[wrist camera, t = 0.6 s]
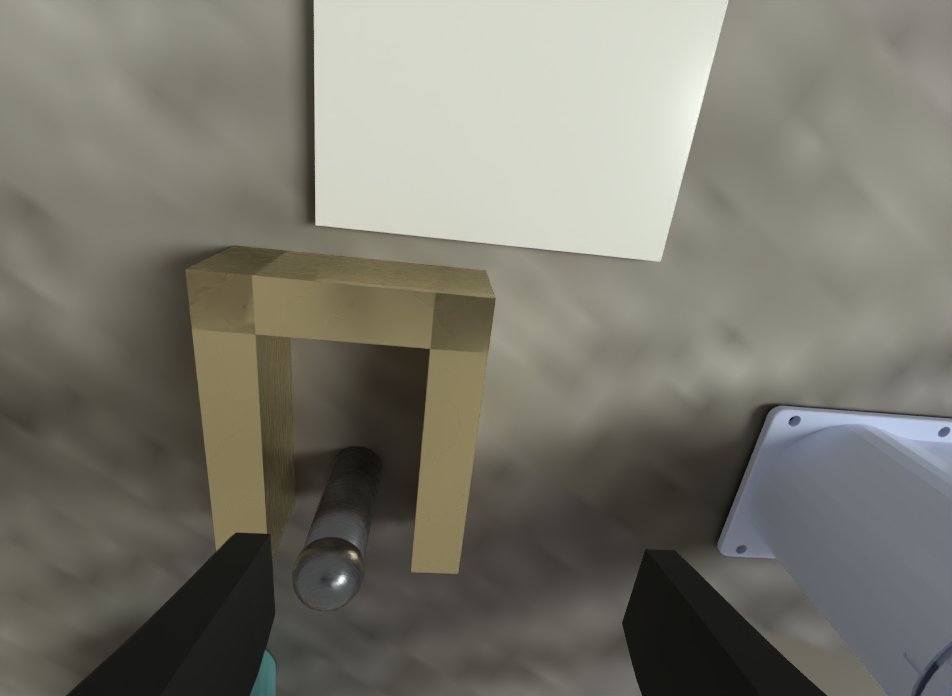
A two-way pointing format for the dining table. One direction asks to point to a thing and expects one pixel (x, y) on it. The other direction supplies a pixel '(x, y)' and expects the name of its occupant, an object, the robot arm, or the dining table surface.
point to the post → (339, 533)
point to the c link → (347, 320)
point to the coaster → (510, 118)
